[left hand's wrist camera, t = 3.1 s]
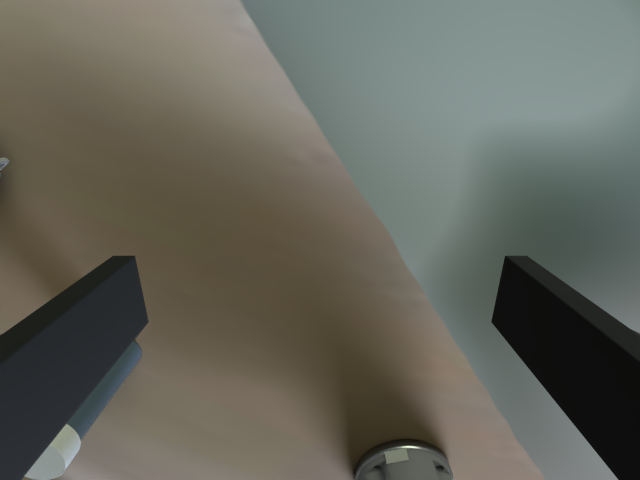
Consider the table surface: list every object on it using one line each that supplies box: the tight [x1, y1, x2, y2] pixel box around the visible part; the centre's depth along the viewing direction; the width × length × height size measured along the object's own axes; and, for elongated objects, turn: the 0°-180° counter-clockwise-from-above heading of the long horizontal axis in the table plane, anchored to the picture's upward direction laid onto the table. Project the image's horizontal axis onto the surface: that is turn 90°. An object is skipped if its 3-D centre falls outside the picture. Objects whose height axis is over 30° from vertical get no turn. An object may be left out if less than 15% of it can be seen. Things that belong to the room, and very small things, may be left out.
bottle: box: [67, 341, 142, 441], centre depth 40 cm, size 5×5×15 cm
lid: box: [25, 424, 81, 480], centre depth 34 cm, size 6×6×2 cm
